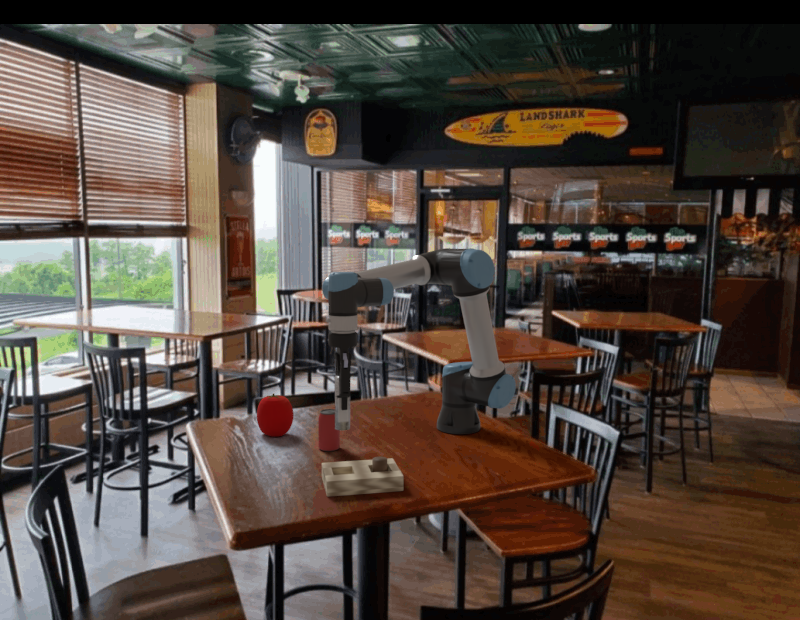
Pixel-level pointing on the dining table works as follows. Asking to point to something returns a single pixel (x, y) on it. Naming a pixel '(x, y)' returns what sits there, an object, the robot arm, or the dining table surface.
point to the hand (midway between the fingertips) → (342, 418)
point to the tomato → (274, 415)
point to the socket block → (361, 477)
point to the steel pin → (338, 425)
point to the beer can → (328, 431)
